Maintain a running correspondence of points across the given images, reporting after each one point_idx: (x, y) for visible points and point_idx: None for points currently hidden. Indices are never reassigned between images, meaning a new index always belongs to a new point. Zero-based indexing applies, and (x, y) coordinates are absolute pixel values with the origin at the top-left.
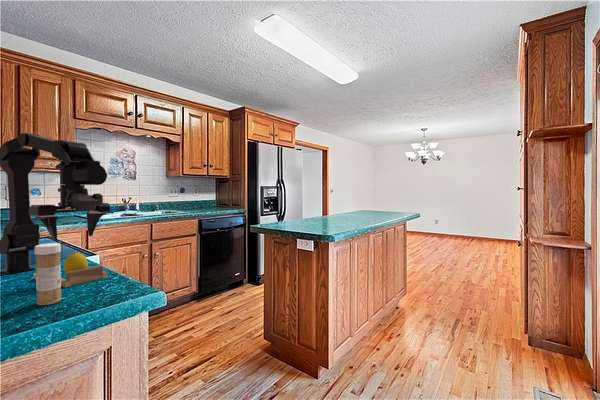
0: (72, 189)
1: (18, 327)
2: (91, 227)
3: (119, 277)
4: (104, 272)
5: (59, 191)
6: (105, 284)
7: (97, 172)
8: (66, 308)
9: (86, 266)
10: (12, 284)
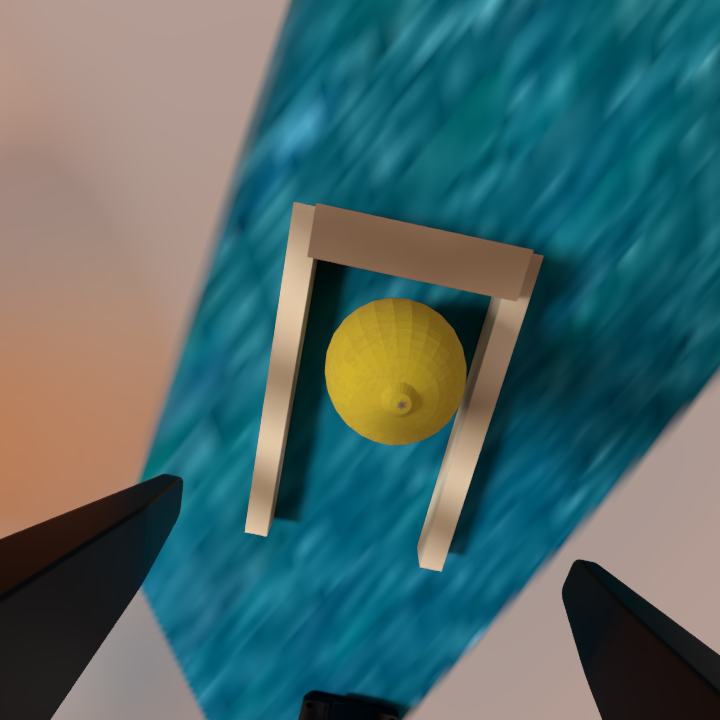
0: None
1: None
2: (92, 558)
3: (285, 108)
4: (311, 207)
5: None
6: (435, 55)
7: None
8: None
9: (366, 304)
10: (525, 556)
